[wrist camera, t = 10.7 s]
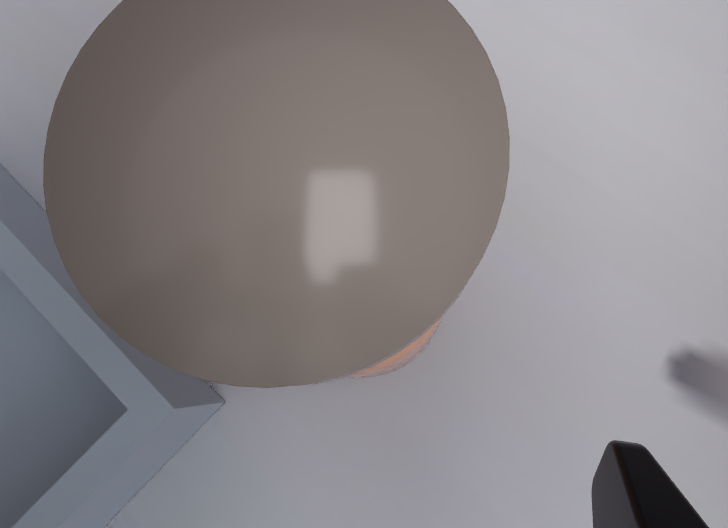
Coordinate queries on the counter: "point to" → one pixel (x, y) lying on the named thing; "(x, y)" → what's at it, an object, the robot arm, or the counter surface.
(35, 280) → the tote
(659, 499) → the robot arm
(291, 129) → the shaker
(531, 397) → the counter surface
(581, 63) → the counter surface
